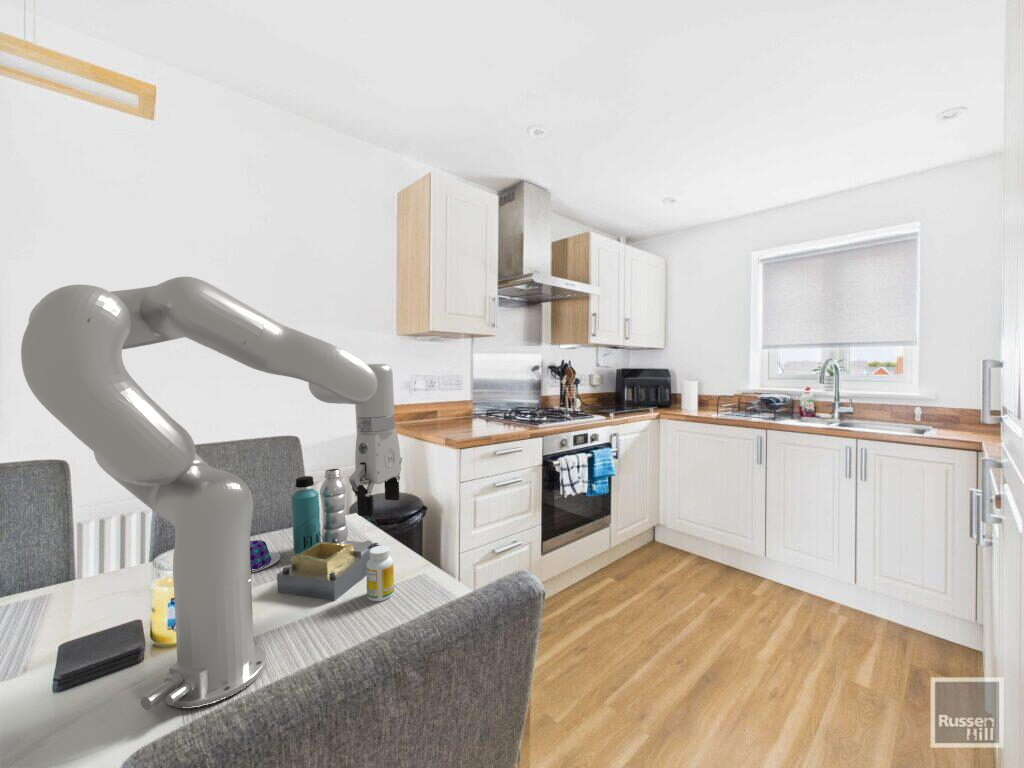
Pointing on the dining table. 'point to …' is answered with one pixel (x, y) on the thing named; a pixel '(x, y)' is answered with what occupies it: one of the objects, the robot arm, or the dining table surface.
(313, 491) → the beverage bottle
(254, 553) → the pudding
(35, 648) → the dining table surface
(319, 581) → the grey tray with box
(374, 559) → the supplement bottle
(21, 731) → the dining table surface
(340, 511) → the plastic bottle
